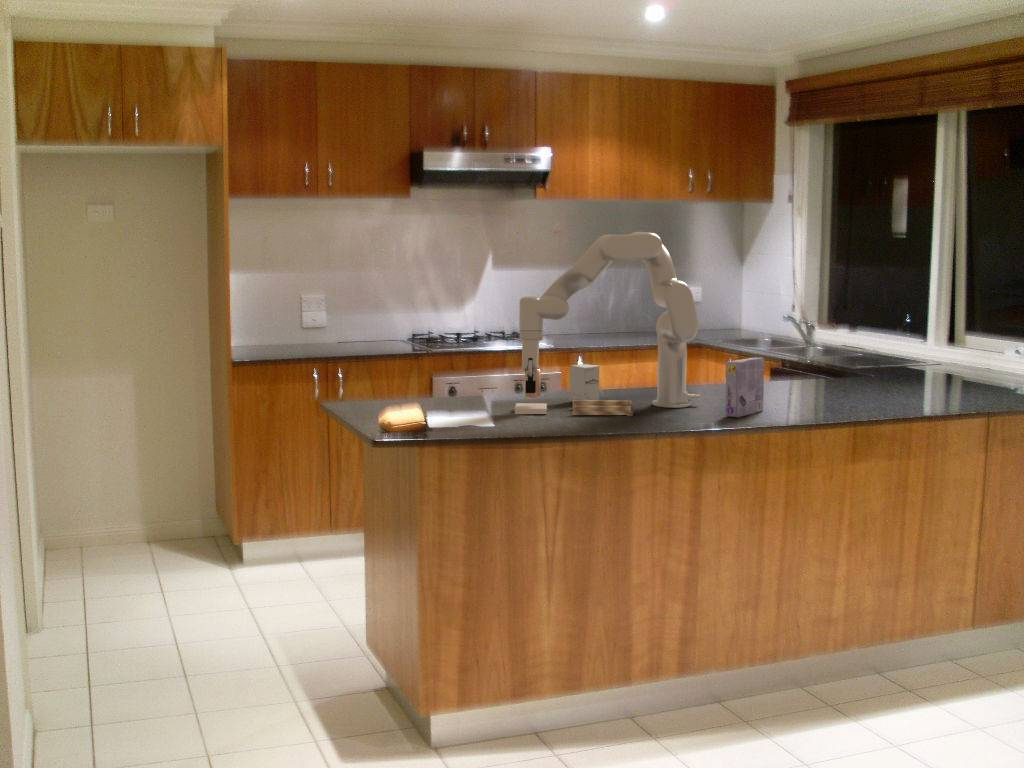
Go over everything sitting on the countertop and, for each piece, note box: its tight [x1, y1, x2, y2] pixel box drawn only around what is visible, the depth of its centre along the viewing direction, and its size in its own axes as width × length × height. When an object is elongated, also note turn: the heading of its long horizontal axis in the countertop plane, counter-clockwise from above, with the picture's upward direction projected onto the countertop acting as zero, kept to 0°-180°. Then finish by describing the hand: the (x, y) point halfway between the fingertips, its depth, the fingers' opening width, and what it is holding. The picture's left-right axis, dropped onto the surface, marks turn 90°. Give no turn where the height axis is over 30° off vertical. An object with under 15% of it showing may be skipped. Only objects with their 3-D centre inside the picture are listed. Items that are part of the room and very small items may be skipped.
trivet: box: [514, 402, 548, 415], centre depth 354 cm, size 10×10×2 cm
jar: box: [524, 365, 542, 399], centre depth 352 cm, size 5×5×10 cm
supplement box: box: [569, 363, 600, 403], centre depth 372 cm, size 7×7×13 cm
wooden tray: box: [572, 399, 634, 417], centre depth 352 cm, size 19×12×3 cm, turn 87°
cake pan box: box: [725, 357, 765, 419], centre depth 349 cm, size 19×5×18 cm, turn 141°
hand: (530, 391), depth 353 cm, fingers closed on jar, 5 cm apart
